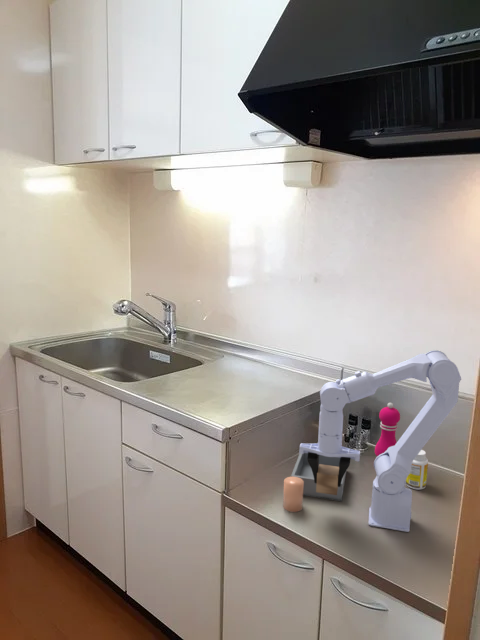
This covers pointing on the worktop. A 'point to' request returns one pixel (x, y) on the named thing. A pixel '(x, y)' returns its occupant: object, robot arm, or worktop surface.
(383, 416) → the pepper mill
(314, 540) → the worktop surface
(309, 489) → the gray tote
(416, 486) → the supplement bottle
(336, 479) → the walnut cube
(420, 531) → the worktop surface
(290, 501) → the terracotta cylinder
